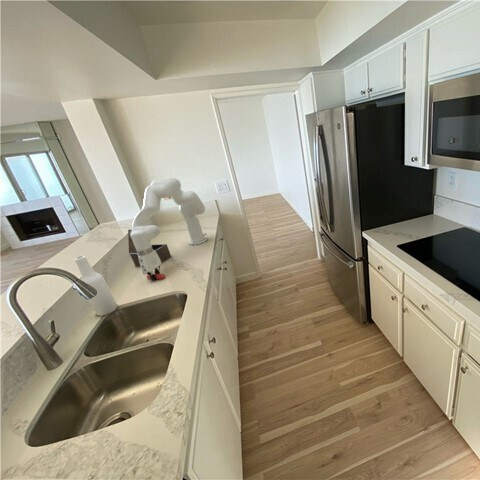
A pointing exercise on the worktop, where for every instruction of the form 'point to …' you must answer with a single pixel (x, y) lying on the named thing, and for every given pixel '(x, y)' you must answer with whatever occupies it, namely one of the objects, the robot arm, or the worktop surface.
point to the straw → (157, 276)
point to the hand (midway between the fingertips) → (156, 278)
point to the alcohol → (97, 288)
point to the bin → (160, 250)
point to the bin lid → (131, 243)
